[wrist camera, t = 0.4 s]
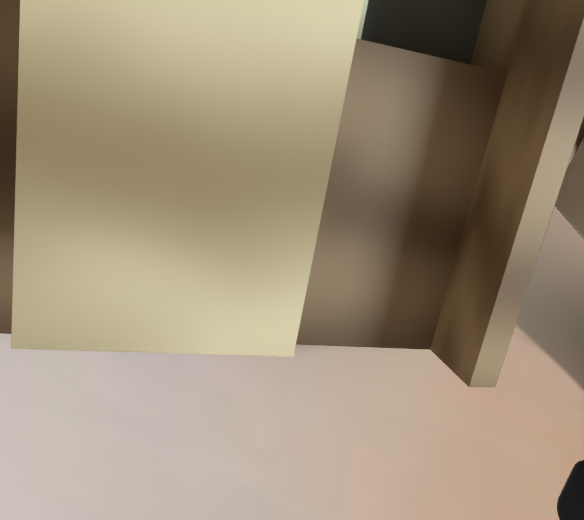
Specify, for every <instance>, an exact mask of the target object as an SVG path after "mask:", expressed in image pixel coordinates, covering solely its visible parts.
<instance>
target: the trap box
mask: <svg viewBox="0 0 584 520" xmlns="http://www.w3.org/2000/svg"><path fill="white" fill-rule="evenodd" d="M19 27H20V0H0V333H6V334H12V297H13V258H14V220H15V181H16V143H17V104H18V65H19ZM583 117H584V0H364V3H363V8H362V13H361V18H360V23H359V28H358V33H357V38H356V43H355V48H354V53H353V58H352V63H351V68H350V74H349V79H348V84H347V89H346V94H345V99H344V104H343V109H342V114H341V119H340V124H339V129H338V134H337V139H336V144H335V149H334V154H333V159H332V164H331V169H330V175H329V180H328V185H327V190H326V195H325V200H324V205H323V210H322V215H321V220H320V225H319V230H318V235H317V240H316V245H315V250H314V255H313V260H312V265H311V270H310V276H309V281H308V286H307V291H306V296H305V301H304V306H303V311H302V316H301V321H300V326H299V331H298V336H297V341H296V344H300V345H326V346H353V347H380V348H407V349H430V350H431V351H432V352H433V353H434V354H435V355H436V356H438V357H439V358H440V359H441V360H442V361H443V362H444V363H445V364H446V365H447V366H448V367H449V368H450V369H451V370H452V371H453V372H454V373H455V374H456V375H457V376H458V377H459V378H460V379H461V380H462V381H463V382H465V383H466V384H467V385H468V386H469V387H495V386H496V383H497V380H498V377H499V374H500V371H501V368H502V365H503V362H504V359H505V356H506V353H507V350H508V347H509V344H510V340H511V337H512V334H513V331H514V328H515V325H516V322H517V319H518V316H519V313H520V310H521V307H522V303H523V301H524V298H525V295H526V292H527V289H528V285H529V282H530V279H531V276H532V273H533V270H534V267H535V264H536V261H537V258H538V255H539V252H540V249H541V246H542V243H543V240H544V237H545V233H546V230H547V227H548V224H549V221H550V218H551V215H552V212H553V209H554V206H555V203H556V200H557V197H558V194H559V191H560V188H561V185H562V181H563V178H564V175H565V172H566V169H567V166H568V163H569V160H570V157H571V154H572V151H573V148H574V145H575V142H576V139H577V136H578V133H579V129H580V126H581V123H582V120H583Z"/></svg>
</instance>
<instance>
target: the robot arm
mask: <svg viewBox="0 0 584 520" xmlns="http://www.w3.org/2000/svg"><path fill="white" fill-rule="evenodd" d="M557 512H558V516H559V519H560V520H584V460H582V461H579V462H578V463H576V464H575V466H574V467H573V469H572V471H571V473H570V475H569V477H568V479H567V481H566V483H565V485H564V487H563V489H562V492H561V494H560V496H559V498H558V501H557Z"/></svg>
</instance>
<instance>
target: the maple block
mask: <svg viewBox="0 0 584 520" xmlns="http://www.w3.org/2000/svg"><path fill="white" fill-rule="evenodd" d="M363 3H364V0H20V27H19V65H18V104H17V143H16V181H15V220H14V258H13V297H12V335H11V348H14V349H48V350H81V351H115V352H148V353H182V354H215V355H249V356H282V357H293V356H294V351H295V346H296V341H297V336H298V331H299V326H300V321H301V316H302V311H303V306H304V301H305V296H306V291H307V286H308V281H309V276H310V270H311V265H312V260H313V255H314V250H315V245H316V240H317V235H318V230H319V225H320V220H321V215H322V210H323V205H324V200H325V195H326V190H327V185H328V180H329V175H330V169H331V164H332V159H333V154H334V149H335V144H336V139H337V134H338V129H339V124H340V119H341V114H342V109H343V104H344V99H345V94H346V89H347V84H348V79H349V74H350V68H351V63H352V58H353V53H354V48H355V43H356V38H357V33H358V28H359V23H360V18H361V13H362V8H363Z"/></svg>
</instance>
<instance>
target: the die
mask: <svg viewBox="0 0 584 520" xmlns="http://www.w3.org/2000/svg"><path fill="white" fill-rule="evenodd" d="M555 206H556V207H557V209H558V210H559V211H560V212H561V213H562V214H563V216H564V217H565V218H566V219H567V220H568V221H569V222H570V224H571V225H572V226H573V227H574V228H575V230H576V231H577V232H578V233H579V234H580V235H581V236H582V237H583V239H584V138H583V140H582V142H581V143H580V145H579V147H578V149H577V151H576V153H575V155H574V157H573V159H572V160H571V163H570V164H569V166H568V168H567V170H566V172H565V175H564V178H563V181H562V185H561V188H560V191H559V194H558V197H557V200H556V203H555Z"/></svg>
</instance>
